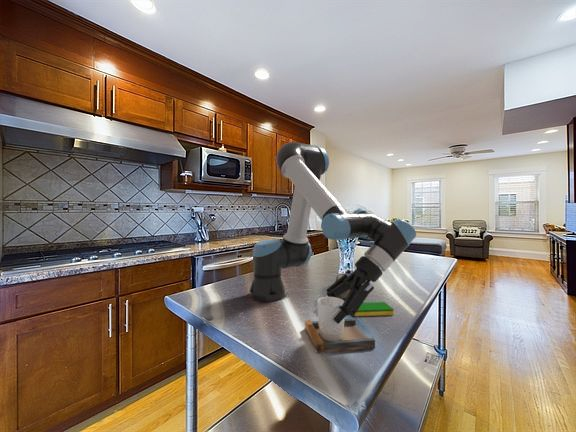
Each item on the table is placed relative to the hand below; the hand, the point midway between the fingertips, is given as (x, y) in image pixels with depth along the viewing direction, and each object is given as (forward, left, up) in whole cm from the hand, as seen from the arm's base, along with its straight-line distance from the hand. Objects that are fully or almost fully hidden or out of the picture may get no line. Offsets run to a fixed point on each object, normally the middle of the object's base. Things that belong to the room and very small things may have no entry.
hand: (320, 321), depth 73 cm
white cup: (+3, +2, -5) cm, 6 cm away
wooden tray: (+4, +3, -5) cm, 7 cm away
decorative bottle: (0, +47, -6) cm, 47 cm away
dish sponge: (+13, +26, -6) cm, 29 cm away
